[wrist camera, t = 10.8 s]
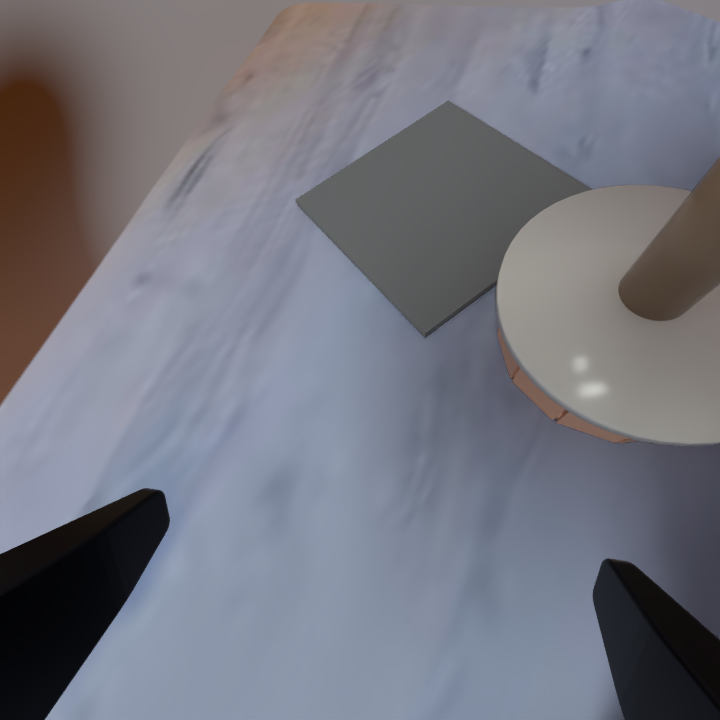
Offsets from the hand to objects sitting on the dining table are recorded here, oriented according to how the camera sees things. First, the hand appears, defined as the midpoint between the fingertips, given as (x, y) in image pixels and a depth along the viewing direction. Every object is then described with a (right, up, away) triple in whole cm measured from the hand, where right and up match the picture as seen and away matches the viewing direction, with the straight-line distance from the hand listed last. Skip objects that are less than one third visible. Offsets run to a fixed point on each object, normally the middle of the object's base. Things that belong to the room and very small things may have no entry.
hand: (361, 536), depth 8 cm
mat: (+6, +15, +21) cm, 26 cm away
